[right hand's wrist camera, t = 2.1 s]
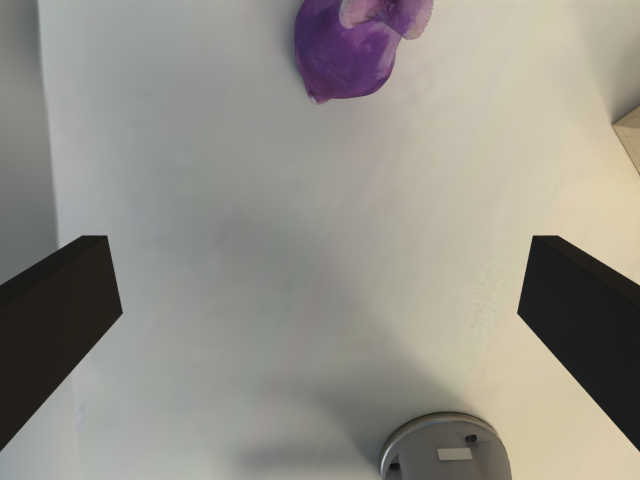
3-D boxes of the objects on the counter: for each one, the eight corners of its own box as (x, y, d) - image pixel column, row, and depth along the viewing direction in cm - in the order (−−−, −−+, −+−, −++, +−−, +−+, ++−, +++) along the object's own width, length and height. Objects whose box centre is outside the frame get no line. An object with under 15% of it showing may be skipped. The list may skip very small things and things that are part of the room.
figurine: (395, -62, 30) (462, -196, 16) (418, 79, 33) (489, 73, 19) (275, -25, 31) (238, -121, 17) (310, 109, 34) (303, 123, 20)
